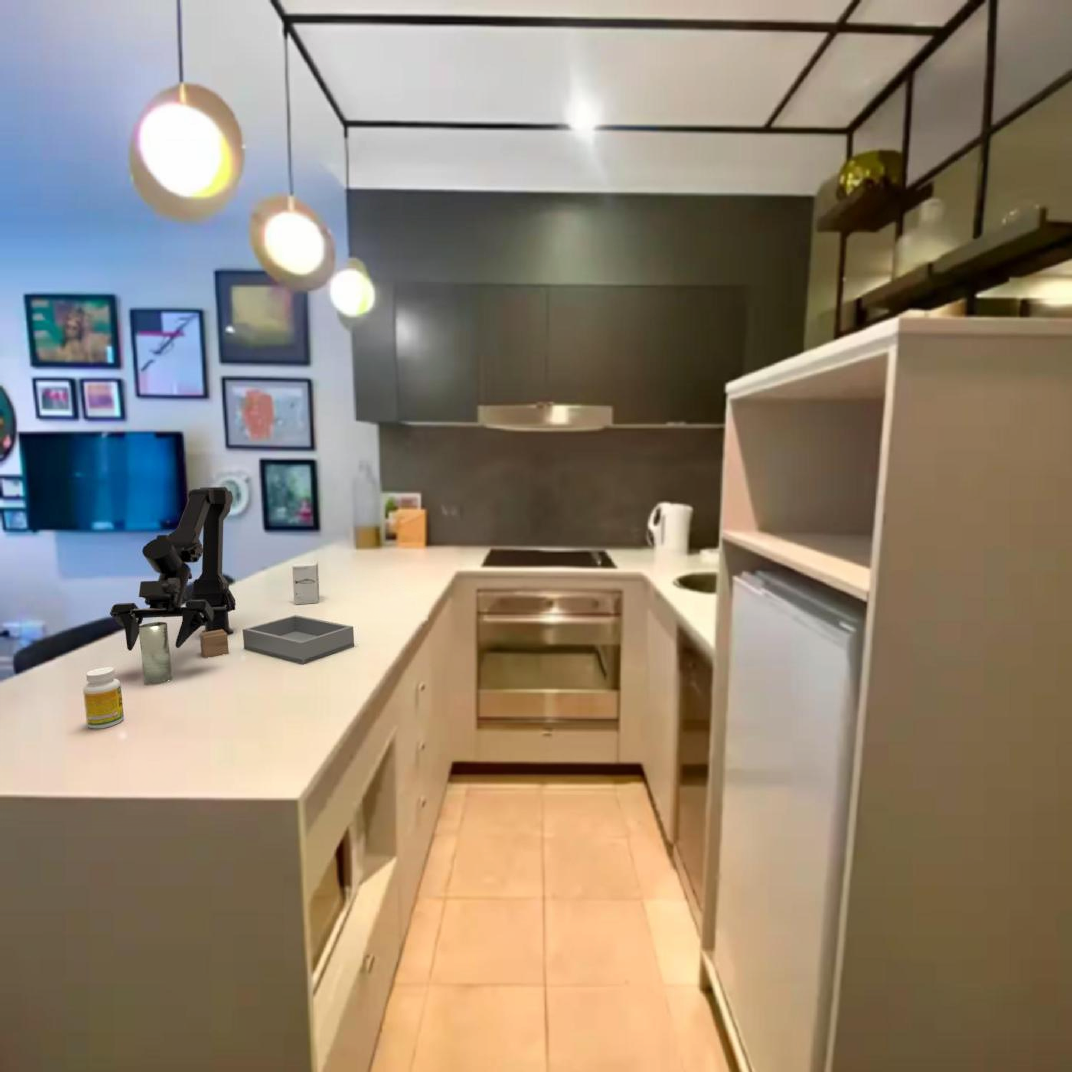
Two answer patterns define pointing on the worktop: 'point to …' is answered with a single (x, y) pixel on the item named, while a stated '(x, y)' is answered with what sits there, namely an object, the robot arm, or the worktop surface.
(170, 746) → the worktop surface
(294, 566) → the supplement box
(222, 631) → the walnut cube
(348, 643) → the tote
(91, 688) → the supplement bottle
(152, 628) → the sage tin
